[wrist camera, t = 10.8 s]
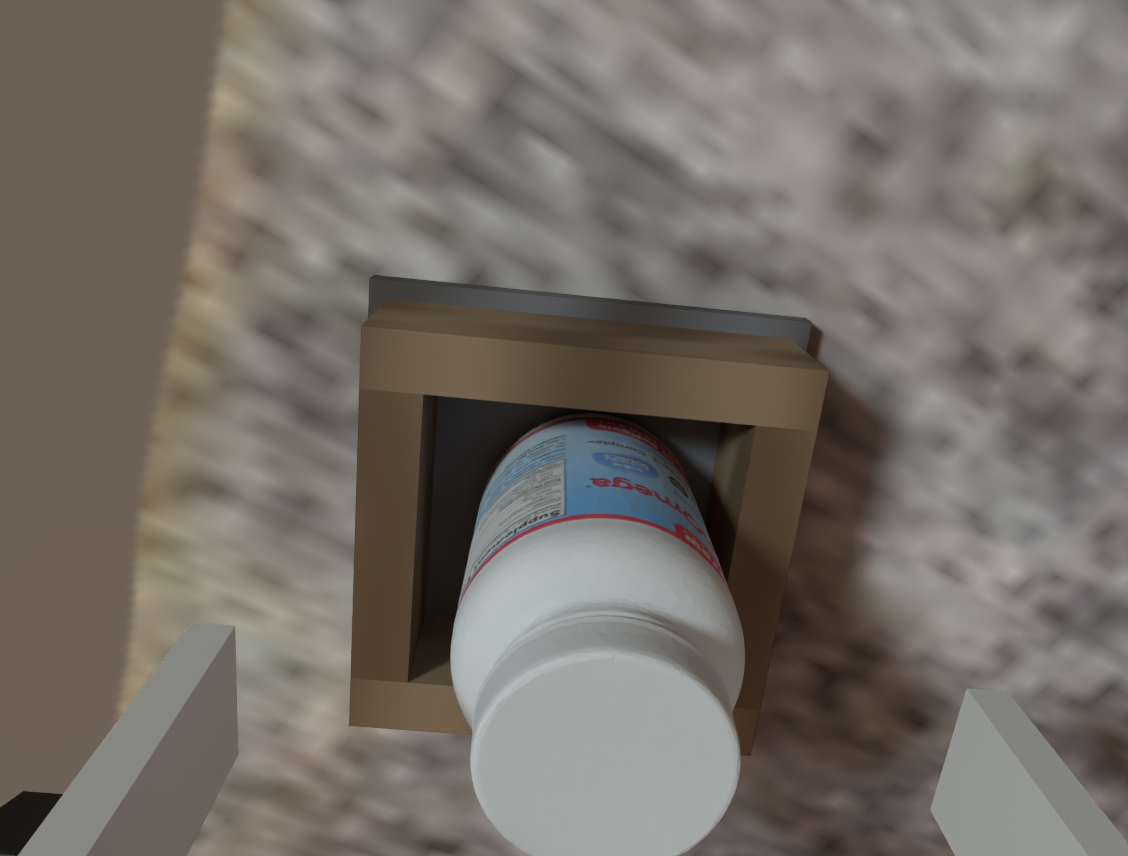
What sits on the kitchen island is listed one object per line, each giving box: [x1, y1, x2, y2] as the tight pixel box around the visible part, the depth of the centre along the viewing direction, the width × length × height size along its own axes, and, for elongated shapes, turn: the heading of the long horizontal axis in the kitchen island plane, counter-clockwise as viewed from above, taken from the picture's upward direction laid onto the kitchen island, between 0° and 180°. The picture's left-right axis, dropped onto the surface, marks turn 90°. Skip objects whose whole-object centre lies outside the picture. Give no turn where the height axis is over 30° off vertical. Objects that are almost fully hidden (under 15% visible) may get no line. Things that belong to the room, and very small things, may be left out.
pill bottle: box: [450, 413, 745, 856], centre depth 20 cm, size 6×6×11 cm
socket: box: [349, 275, 830, 756], centre depth 24 cm, size 12×12×4 cm
